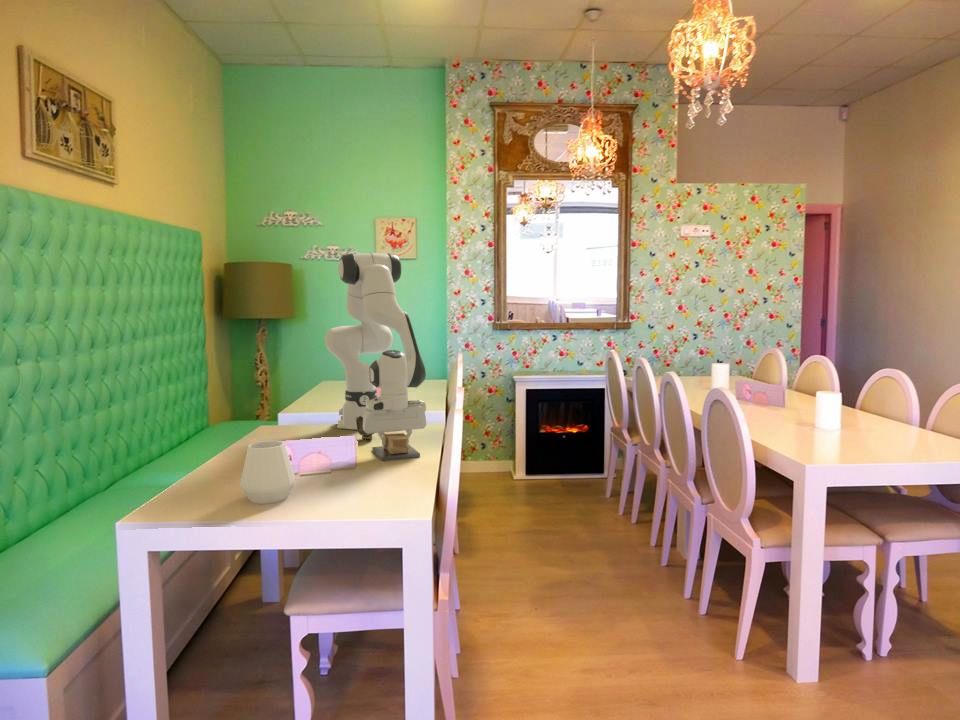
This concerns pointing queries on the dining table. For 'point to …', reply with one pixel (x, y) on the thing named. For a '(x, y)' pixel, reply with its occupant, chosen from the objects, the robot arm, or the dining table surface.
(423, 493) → the dining table surface
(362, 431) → the cup
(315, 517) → the dining table surface
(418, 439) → the dining table surface
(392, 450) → the block
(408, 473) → the dining table surface
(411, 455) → the slate base plate
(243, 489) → the cream vase
